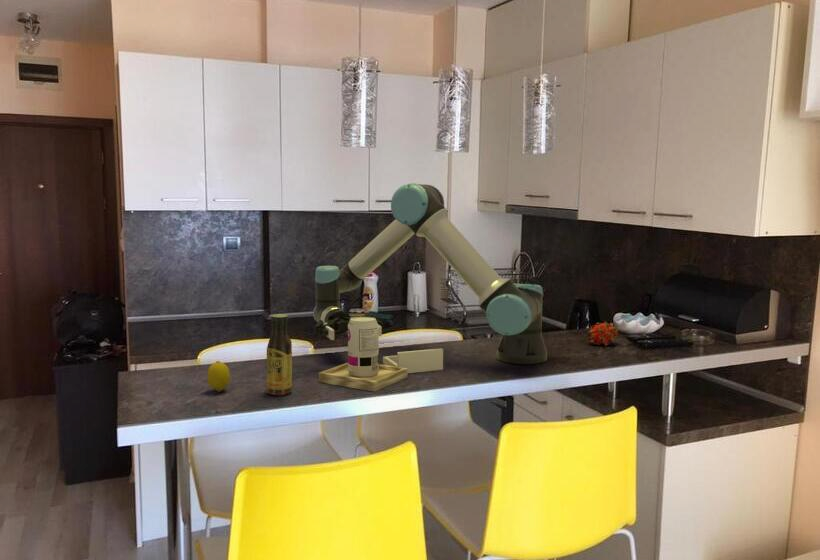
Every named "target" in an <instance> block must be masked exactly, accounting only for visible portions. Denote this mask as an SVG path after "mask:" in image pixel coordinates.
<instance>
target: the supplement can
mask: <svg viewBox="0 0 820 560" xmlns="http://www.w3.org/2000/svg"><path fill="white" fill-rule="evenodd" d="M376 320H377V319H376V317H370V316H357V317H351V319H350V321H349V323H348V331H347V363H348V372H349V373H350V374H351V375H352V376H355V377H371V376H375V375H376V374H377V373H378V372H379V364H380V362H379V354H380V353H379V352H380V351H379V350H380V348H379V346H380V345H379V341H380V340H379V338H380V336H379V328H378V323H377V321H378V320H377V321H376Z"/></svg>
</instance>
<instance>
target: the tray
mask: <svg viewBox="0 0 820 560" xmlns="http://www.w3.org/2000/svg"><path fill="white" fill-rule="evenodd" d="M408 375H409V373H408V368H402V367H395V366H388V365H385V364H381V363H379V372H378V373H377V374H376V375H375V376H371V377H355V376H352V375H351V374H350V373H349V372H348V362H345V363H343V364H339V365H337V366H334V367H332V368H329V369H325V370H323V371H320V372H318V383H323V384H328V385H335V386H341V387H345V388H352V389H356V390H364V391H368V392H373V393H375V392H378V391H380V390H382V389H384V388H387V387H389V386H391V385H394V384H395V383H398V382H400V381H403V380H405V379H406V378H408V377H409V376H408Z"/></svg>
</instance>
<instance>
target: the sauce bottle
mask: <svg viewBox="0 0 820 560" xmlns="http://www.w3.org/2000/svg"><path fill="white" fill-rule="evenodd" d="M270 321H271V334H270V337H269V340H268V343H267V347H266V391H267V394H268V395H271V396H278V397H280V396H285V395H288V394H290V393H291V392H292V385H293V384H292V383H293V350H292V348H293V346H292V345H293V344H292V340H291V339H292V338H290V336H289V334H288V322H289V316H288V314H284V313H279V314H278V313H277V314H273V315H271V320H270Z"/></svg>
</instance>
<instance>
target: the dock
mask: <svg viewBox="0 0 820 560" xmlns="http://www.w3.org/2000/svg"><path fill="white" fill-rule="evenodd" d="M382 365H388V366H395V367H402V368H408V374H414V373H424V372H425V373H426V372H432V371H433V372H434V371H442V370H444V349H443V348H431V349H430V348H429V349H422V350H421V349H420V350H419V349H418V350H410V351H397V355H389V356H388V355H387V356H382Z"/></svg>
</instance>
